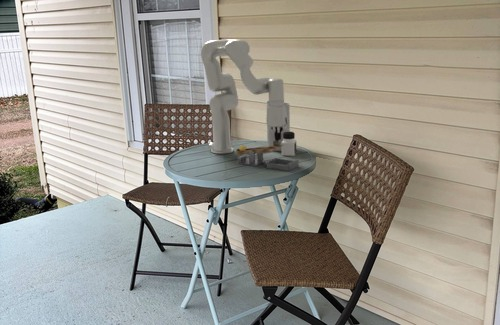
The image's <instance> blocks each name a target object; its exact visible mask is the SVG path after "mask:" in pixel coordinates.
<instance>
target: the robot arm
mask: <svg viewBox="0 0 500 325" xmlns="http://www.w3.org/2000/svg"><path fill="white" fill-rule="evenodd" d="M250 47H251V46H250V45H249V43H248V42H247V41H246V40H244V39H214V40H213V39H212V40H209V41H207V42H204V44H203V45H202V47H201V50H200V56H201V60H202V64H203V67H204V71H205V76H206V80H207V86H208V88H209V91H211V92H214V93H216V92H217V93H218V92H219V94H215V95H213V96H211V98H210V100H209V109H210V112H211V120H212V123H211V124H212V139H213V142H209V144H208V147H210V148H211V149H210V152H211V153H213V154H221V155H223V154H230V153H233V152H234V151H235V149H234V147H232V143H231V142H232V141H231V124H230V123H231V121H230V116H229V113H228V112H227V111H231V110H234V109H236V108H237V107H238V105H239V96H238V91H237V86H236V83H235V79H234V77H233V75H232V74H230V73H228V72H222V68H221V64H220V61H218V59H217V58H216V57H224V56H228V58H229V59H230V60H231V61H232V62H233V64H234V65H235V66H236V67H237V69H239V74H240V80H241V81H242V84H243V85H244V86H245V87H246V88H247V90H248V91H249V92H250V93H251V94H253V95H262V94H266V93H268V100H267V102H266V104H269V106H268V108H267V107H266V118H265V119H266V122H265V123H266V127H267V126H268V128H271V129H272V130H273V132H274V134H275V140H281V132H282V130H283V129H287V124H288V120H287V112H286V107H285V106H284V103H285V94H284V93H285V91H284V90H285V88H284V80H283V78H272V77H271V78H270V77H263V78H262V77H261V78H256V76H255V75H254V74H253V73H252V71H251V67H252V66H253V65H254V60H253V58H252V57H251V56H250V54H249V53H250ZM220 92H222V93H220ZM283 126H284V127H283Z"/></svg>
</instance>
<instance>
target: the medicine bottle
mask: <svg viewBox="0 0 500 325" xmlns="http://www.w3.org/2000/svg"><path fill="white" fill-rule="evenodd" d="M295 138H296V137H295V132H294V131H291V130H290V131H287V132H284V133H283V141H282V143H281V145H283V146H282V147H281V150H282V151H281V156H289V157H291V156H292V157H293V156H296V154H297V139H295Z"/></svg>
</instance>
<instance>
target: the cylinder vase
mask: <svg viewBox="0 0 500 325" xmlns="http://www.w3.org/2000/svg"><path fill="white" fill-rule="evenodd" d="M268 106H269V104H267V103H266V109H267V108H268ZM284 106H285V107H286V112H287V120H288V124H287V129H283V130H282V132H281V140H279V145H281V143H282V141H283V133H284V132H287V131H291V129H290V128H291V126H290V122H291V121H290V120H291V117H290V116H291V115H290V103H288V102H284ZM283 127H284V126H283ZM266 136H267V137H266V142H267V146H266V147H269V146H274V145H273V140H275V134H274V132H273V130H272V129H271V128H268V126H267V125H266ZM274 152H282V150H281V147H280V148H277V149H276V150H275V151H274Z"/></svg>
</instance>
